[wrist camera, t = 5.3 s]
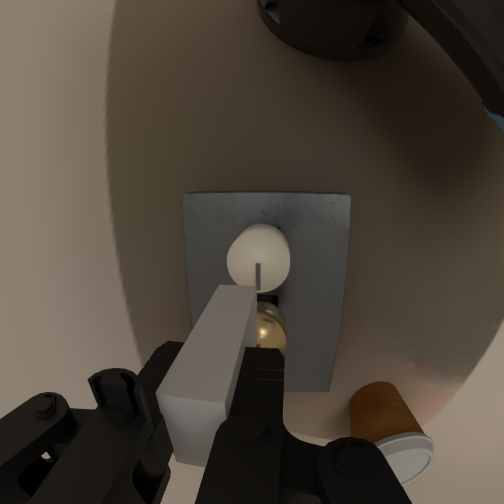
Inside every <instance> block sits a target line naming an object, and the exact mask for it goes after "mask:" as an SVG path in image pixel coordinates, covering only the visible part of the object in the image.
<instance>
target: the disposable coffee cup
mask: <svg viewBox="0 0 504 504" xmlns="http://www.w3.org/2000/svg"><path fill="white" fill-rule="evenodd" d="M350 414H351V437H356V438H362V439H365V440H367V441H369V442H371V443H373V444H375V445H376V446H377V447H378V448H379V449H380V450H381V452H382V453H383V455H384V456H385V458H386V460H387V461H388V463H389V465H390V467H391V468H392V470H393V472H394V473H395V475H396V477H397V478H398V480H399V482H400V484H401V485H404V484H407V483H408V482H410V481H412V480H414V479H415V478H417V477H419V476H420V475H421V474H422V473H424V472H425V471H426V470H427V469H428V467H430V465H431V464H432V462H433V459H434V449H435V444H434V441H433V440H432V439H431V438H430V437H428V436H427V435H426V434H424V432H423V430H422V429H421V427H420V425H419V424H418V422H417V421H416V419H415V417H414V416H413V414H412V413H411V411H410V409H409V408H408V406H407V405H406V403H405V402H404V400H403V399H402V397H401V396H400V394H399V393H398V391H397V389H396V388H395V386H394V385H392V384H390V383H388V382H376V383H372V384H369V385H367V386H365V387H363V388H361V389H360V390H359V391H357V392H356V394H355V395H354V396H353V397H352V399H351V402H350Z"/></svg>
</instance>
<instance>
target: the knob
mask: <svg viewBox="0 0 504 504" xmlns="http://www.w3.org/2000/svg"><path fill="white" fill-rule="evenodd" d="M227 268H228V271H229V274H230V276H231V278H232V279H233V280H234V281H235V283H236V284H238V285H243V286H257V293H263V292H268V291H271V290H273V289H275V288H277V287H278V286H280V285H281V284H282V283H283V281H284V280H285V279H286V277H287V275H288V273H289V269H290V247H289V243H288V240H287V238H286V237H285V235H284V234H283V233H282V232H281V231H280V230H279V229H277V228H276V227H274V226H272V225H268V224H255V225H252V226H250V227H248V228H246V229H245V230H244V231H242V233H241V234H240V235H239V236H238V237H237V239H236V240H235V241H234V243H233V244H232V246H231V247H230V249H229V251H228V255H227Z"/></svg>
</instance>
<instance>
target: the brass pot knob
mask: <svg viewBox="0 0 504 504" xmlns="http://www.w3.org/2000/svg"><path fill="white" fill-rule="evenodd" d="M286 344H287V320H286V317H285V315H284V313H283V312H282V311H281V310H280V309H279V308H278V307H277V306H275V305H273V304H272V303H271V302H270V301H268V300H261V301H259V302H257V346H256V347H261V348H278V349H279V350H280V352H281V353H282V355H284V353H285V350H286Z"/></svg>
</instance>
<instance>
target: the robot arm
mask: <svg viewBox="0 0 504 504" xmlns="http://www.w3.org/2000/svg"><path fill="white" fill-rule="evenodd" d="M257 3H258V8H259V11H260V14H261V16H262V18H263V19H264V21H265V23H266V24H267V25H268V26H269V28H270V29H271V30H272V31H273V32H274V33H275V34H276V35H277V36H279V37H280V38H281V39H283V40H284V41H285V42H287V43H289V44H290V45H292V46H294V47H296V48H298V49H300V50H302V51H304V52H307V53H309V54H312V55H315V56H319V57H323V58H328V59H334V60H345V61H353V60H362V59H368V58H371V57H374V56H377V55H379V54H381V53H383V52H385V51H386V50H388V49H389V48H390V47H391V46H392V45H393V44H394V43H395V42H396V41H397V40H398V39H399V37H400V36H401V35H402V33H403V32H404V30H405V27H406V25H407V22H408V14H410V15H411V16H412V17H413V18H414V19H415V20H416V21H417V22H418V23H419V24H420V25H421V26H422V27H423V28H424V29H425V30H426V31H427V32H428V33H429V34H430V35H431V36H432V37H433V38H434V39H435V40H436V42H437V43H438V44H439V45H440V46H441V47H442V48H443V49H444V51H445V52H446V53H447V54H448V55H449V56H450V58H451V59H452V60H453V61H454V62H455V64H456V65H457V66H458V67H459V69H460V70H461V71H462V72H463V74H464V75H465V76H466V78H467V79H468V80H469V82H470V83H471V84H472V86H473V87H474V89H475V90H476V91H477V93H478V94H479V96H480V97H481V99H482V100H483V101H482V103H483V108H484V109H485V111H486V113H487V114H488V115H489V116H490V117H491V118H492V119H493V120H495V122H496V123H497V125H498V126H499V128H500V129H501V131H502V133H503V134H504V0H257ZM256 346H257V286H243V285H219V286H218V288H217V289H216V291H215V293H214V295H213V296H212V298H211V300H210V301H209V303H208V305H207V306H206V308H205V310H204V311H203V313H202V315H201V316H200V318H199V320H198V321H197V323H196V325H195V326H194V328H193V330H192V332H191V333H190V335H189V337H188V338H187V340H186V342H185V343H183V342H174V341H167V342H166V343H164V344H163V345H161V346H159V347H158V348H157V349H156V350H155V351H154V353H153V354H152V356H151V357H150V360H148V361H147V363H146V364H145V365H144V368H142V370H141V371H140V372H139V374H138V375H136V374H135V373H134V372H132V371H129V370H127V369H121V368H112V369H105V370H102V371H100V372H98V373H95V374H94V375H92V376H91V377H90V378H89V379H88V382H89V384H90V387H91V389H92V392H93V395H94V397H95V400H96V402H97V404H98V407H97V408H96V409H93V410H91V409H74V408H70V407H69V405H68V403H67V401H66V400H65V398H64V397H63V396H62V395H60V394H57V393H53V392H45V393H40V394H38V395H36V396H34V397H32V398H30V399H29V400H28V401H26V402H24V403H23V404H22V405H20V406H19V407H17V408H16V409H14V410H13V411H12V412H10V413H8V414H7V415H5V416H4V417H3V418H1V419H0V504H160V503H161V500H162V497H163V495H164V492H165V490H166V487H167V484H168V482H169V479H170V473H171V470H170V468H169V465H168V463H169V460H170V458H171V455H172V453H174V456H175V458H176V461H177V462H180V463H185V464H190V465H195V466H201V467H206V468H205V471H204V474H203V478H202V481H201V484H200V488H199V491H198V494H197V498H196V501H195V504H412V502H411V501H410V499H409V498H408V496H407V494H406V492H405V490H404V489H403V487H402V485H401V484H400V482H399V480H398V478H397V477H396V475H395V473H394V472H393V470H392V468H391V467H390V465H389V463H388V461H387V460H386V458H385V456H384V455H383V453H382V452H381V450H380V449H379V448H378V447H377V446H376V445H375V444H373V443H371V442H369V441H367V440H365V439H362V438H356V437H346V438H339V439H336V440H334V441H331V442H329V443H328V444H327V445H326V446H319V445H315V444H310V443H307V442H304V441H301V440H299V439H297V438H296V437H294V436H293V435H291V434H290V433H289V432H288V431H287V429H286V428H285V426H284V424H283V395H284V368H285V358H284V356H283V355H282V353H281V352H280V350H279V349H278V348H261V347H256ZM45 452H47V453H48V454H49V455H50V457H51V458H49V459H44V458H42V456H41V455H43V454H44V453H45Z"/></svg>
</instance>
